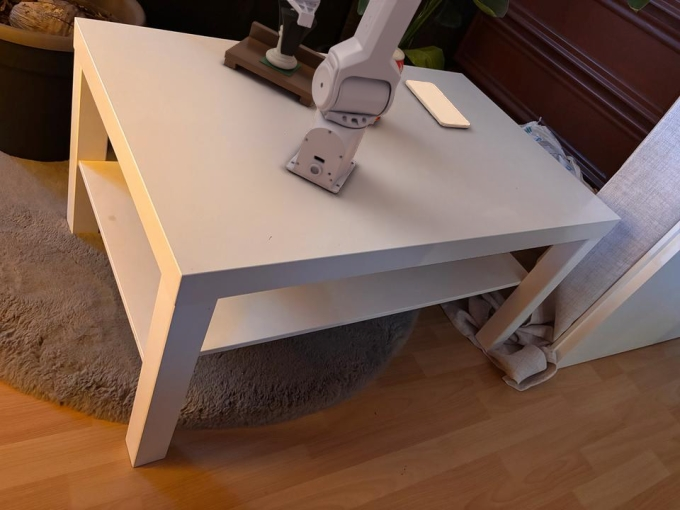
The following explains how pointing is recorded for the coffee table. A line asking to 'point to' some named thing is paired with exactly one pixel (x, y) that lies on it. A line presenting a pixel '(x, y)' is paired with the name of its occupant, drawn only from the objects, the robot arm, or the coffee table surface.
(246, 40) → the shelf
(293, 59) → the chess piece
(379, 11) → the robot arm
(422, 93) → the smartphone
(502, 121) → the coffee table surface
